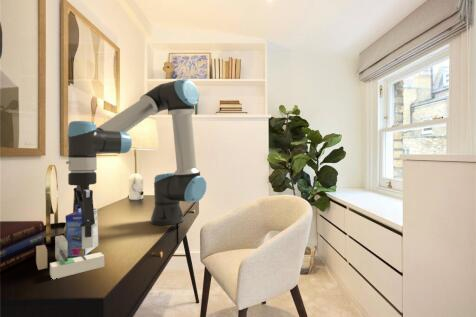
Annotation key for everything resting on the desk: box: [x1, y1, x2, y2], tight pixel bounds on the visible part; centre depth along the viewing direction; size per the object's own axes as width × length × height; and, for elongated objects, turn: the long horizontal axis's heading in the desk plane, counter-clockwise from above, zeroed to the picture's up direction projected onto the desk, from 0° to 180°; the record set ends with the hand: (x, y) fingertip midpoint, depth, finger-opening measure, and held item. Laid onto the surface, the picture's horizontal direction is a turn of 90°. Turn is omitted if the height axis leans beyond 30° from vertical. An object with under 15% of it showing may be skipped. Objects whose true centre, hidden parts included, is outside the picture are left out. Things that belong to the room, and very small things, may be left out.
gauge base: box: [35, 244, 105, 280], centre depth 75 cm, size 14×16×5 cm
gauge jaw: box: [54, 234, 69, 262], centre depth 75 cm, size 2×17×6 cm, turn 41°
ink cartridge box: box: [65, 204, 99, 258], centre depth 82 cm, size 10×6×14 cm, turn 7°
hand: (83, 243), depth 82 cm, fingers closed on ink cartridge box, 11 cm apart
